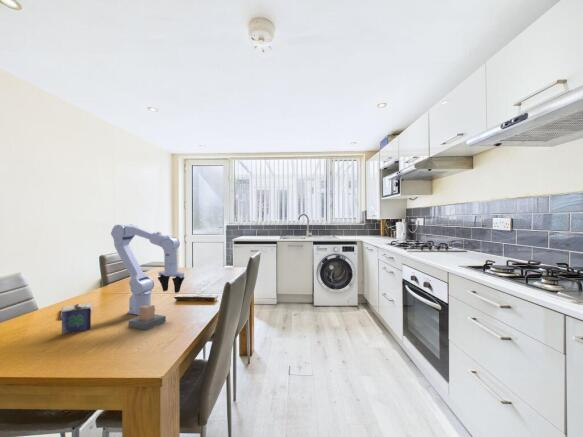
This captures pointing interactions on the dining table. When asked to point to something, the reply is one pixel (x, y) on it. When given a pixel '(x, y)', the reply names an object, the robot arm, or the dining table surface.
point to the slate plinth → (147, 322)
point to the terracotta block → (147, 312)
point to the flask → (76, 319)
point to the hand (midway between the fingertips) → (171, 291)
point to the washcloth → (74, 308)
